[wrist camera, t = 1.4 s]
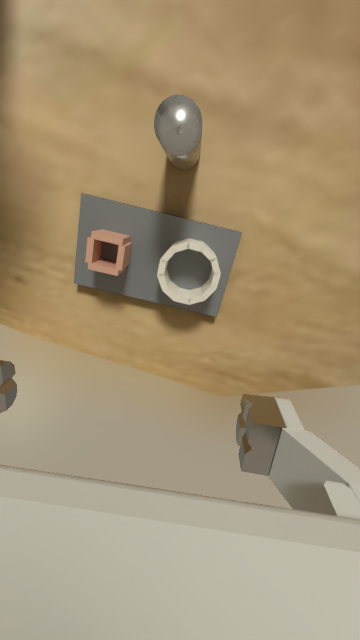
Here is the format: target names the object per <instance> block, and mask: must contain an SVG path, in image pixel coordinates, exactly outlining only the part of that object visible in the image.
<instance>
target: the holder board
mask: <svg viewBox="0 0 360 640" xmlns="http://www.w3.org/2000/svg"><path fill="white" fill-rule="evenodd" d="M241 234H242V233H241V232H238V231H234V230H230V229H226V228H222V227H218V226H214V225H210V224H206V223H201V222H197V221H193V220H189V219H185V218H181V217H177V216H173V215H169V214H165V213H161V212H157V211H153V210H149V209H145V208H141V207H137V206H133V205H129V204H125V203H121V202H117V201H112V200H108V199H104V198H100V197H96V196H92V195H88V194H83V193H82V194H81V205H80V217H79V229H78V240H77V252H76V263H75V275H74V284H78V285H83V286H87V287H91V288H95V289H100V290H104V291H108V292H112V293H117V294H121V295H125V296H129V297H134V298H138V299H142V300H146V301H151V302H155V303H159V304H163V305H167V306H172V307H176V308H180V309H184V310H189V311H193V312H197V313H201V314H206V315H210V316H214V317H217V314H218V310H219V307H220V304H221V300H222V297H223V294H224V290H225V287H226V284H227V280H228V277H229V274H230V271H231V267H232V264H233V261H234V257H235V254H236V251H237V247H238V244H239V241H240V237H241Z"/></svg>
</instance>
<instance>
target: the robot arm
mask: <svg viewBox="0 0 360 640" xmlns="http://www.w3.org/2000/svg"><path fill="white" fill-rule="evenodd" d="M14 374H15V368H14V364H12V363H11V362H9V361H2V360H0V413H1V412H3V411H6V410H7V409H8V408H9V407H10V406H11V405H12V404H13V402H14V400H15V398H16V394H17V384H16V383H15V381H14V380H13V379H12V377H13V376H14ZM240 405H241V410H242V412H241V413H240V414H239V415H238V418H237V425H236V439H237V444H238V445H239V446H240V450H239V460H240V466H241V471H244V472H250V473H255V474H261V475H267V476H269V478H270V480H271V481H272V482H273V483H274V485H275V486H276V487H277V489H278V490H279V491H280V493H281V494H282V495H283V497H284V498H285V499H286V500H287V502H288V503H289V504H290V505H291V507H292V508H293V509H288V508H282V507H275V506H269V505H262V504H255V503H248V502H242V501H235V500H228V499H222V498H216V497H209V496H202V495H196V494H189V493H183V492H176V491H169V490H163V489H156V488H150V487H144V486H137V485H130V484H124V483H117V482H111V481H104V480H98V479H91V478H84V477H78V476H71V475H64V474H58V473H50V472H44V471H38V470H31V469H25V468H18V467H11V466H5V465H0V640H360V469H359V468H358V467H356V466H355V465H354V464H352V463H351V462H350V461H348V460H347V459H346V458H344V457H343V456H342V455H340V454H339V453H337V452H336V451H335V450H334V449H332V448H331V447H330V446H328V445H327V444H326V443H324V442H323V441H321V440H320V439H319V438H317V437H316V436H315V435H314V434H312V433H311V432H308V431H305V430H304V428H303V426H302V424H301V422H300V420H299V418H298V416H297V414H296V412H295V410H294V408H293V406H292V404H291V401H290V400H289V399H286V398H276V397H267V396H257V395H249V394H243V396H242V399H241V404H240Z"/></svg>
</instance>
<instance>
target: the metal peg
mask: <svg viewBox="0 0 360 640" xmlns="http://www.w3.org/2000/svg"><path fill="white" fill-rule="evenodd" d="M154 128H155V133H156V136H157V138H158V140H159V142H160V144H161V145H162V147H163V149H164V151H165V153H166V154H167V156H168V158H169V160H170V162H171V163H172V164H173V165H174V166H175V167H176V168H178V169H181V170H187V169H190V168H192V167H193V166H194V165H195V164H196V163H197V161H198V160H199V157H200V149H201V135H202V116H201V112H200V110H199V108H198V106H197V104H196V103H195V102H194V101H193V100H192V99H190V98H189V97H187V96H184V95H173V96H170V97H168V98H166V99H165V100H164V101H163V102H162V103H161V104H160V106H159V107H158V109H157V111H156V114H155V119H154Z"/></svg>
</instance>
